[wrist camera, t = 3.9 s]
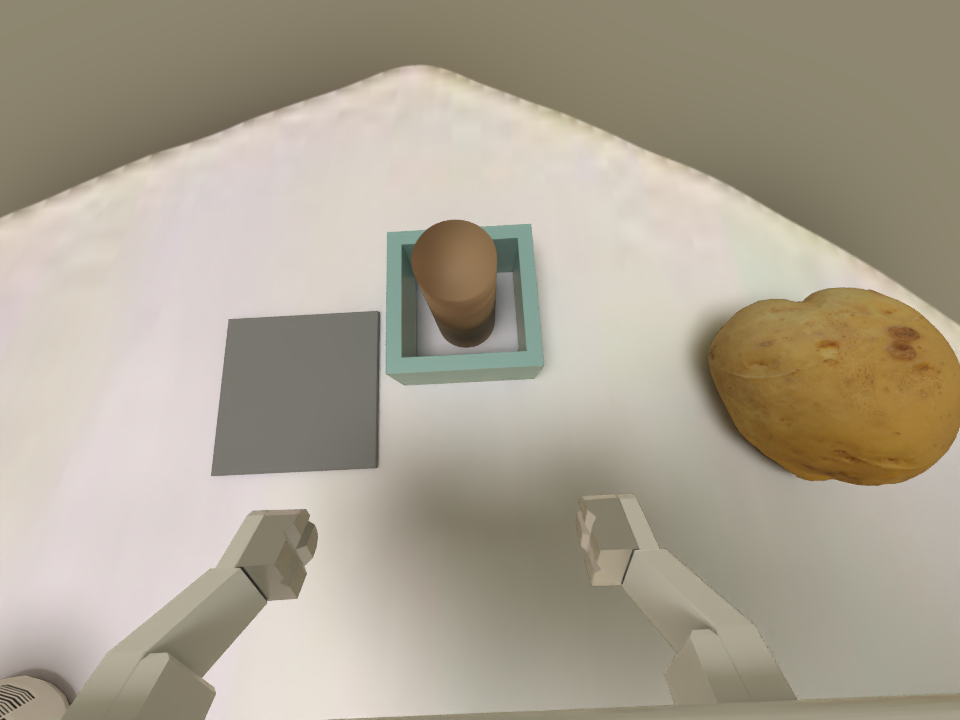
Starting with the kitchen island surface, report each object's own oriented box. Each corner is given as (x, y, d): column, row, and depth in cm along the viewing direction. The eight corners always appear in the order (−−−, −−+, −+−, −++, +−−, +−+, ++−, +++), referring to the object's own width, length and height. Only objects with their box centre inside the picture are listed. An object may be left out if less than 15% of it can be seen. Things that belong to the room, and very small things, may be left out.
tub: (524, 259, 29) (531, 223, 24) (533, 378, 27) (543, 365, 22) (404, 266, 29) (386, 232, 24) (404, 385, 27) (385, 373, 22)
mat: (379, 313, 28) (377, 311, 28) (377, 467, 26) (375, 468, 25) (233, 321, 29) (228, 319, 28) (216, 475, 26) (211, 476, 25)
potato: (760, 506, 25) (938, 551, 15) (657, 354, 27) (751, 307, 17) (875, 435, 25) (1115, 433, 16) (764, 294, 28) (912, 217, 18)
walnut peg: (492, 292, 29) (494, 217, 19) (496, 346, 28) (499, 295, 18) (437, 295, 29) (411, 222, 19) (439, 349, 28) (411, 300, 18)
